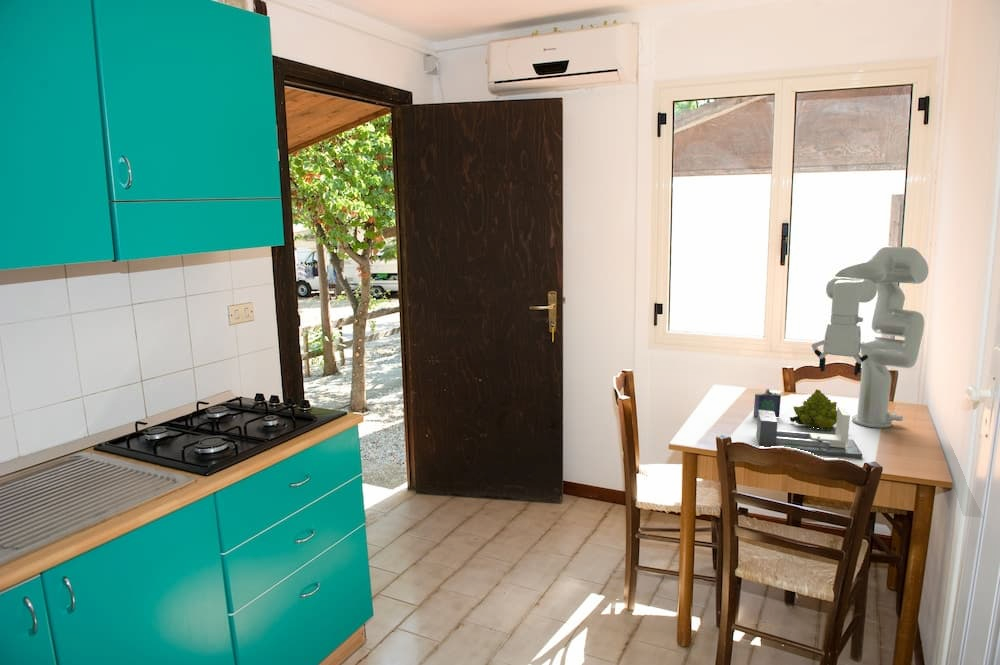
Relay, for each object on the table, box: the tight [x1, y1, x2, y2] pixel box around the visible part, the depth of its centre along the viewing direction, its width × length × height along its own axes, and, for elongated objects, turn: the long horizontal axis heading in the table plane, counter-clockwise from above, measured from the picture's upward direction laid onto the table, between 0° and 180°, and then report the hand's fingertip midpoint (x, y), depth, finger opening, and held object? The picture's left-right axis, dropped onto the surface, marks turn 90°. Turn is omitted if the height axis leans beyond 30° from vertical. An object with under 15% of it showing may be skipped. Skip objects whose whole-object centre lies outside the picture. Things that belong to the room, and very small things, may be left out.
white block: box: [809, 406, 851, 448], centre depth 213 cm, size 10×11×11 cm
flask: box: [753, 388, 782, 418], centre depth 247 cm, size 9×3×11 cm, turn 83°
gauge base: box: [755, 410, 863, 460], centre depth 216 cm, size 30×14×10 cm, turn 73°
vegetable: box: [789, 389, 838, 432], centre depth 235 cm, size 15×16×15 cm
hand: (839, 372), depth 211 cm, fingers open, 9 cm apart
